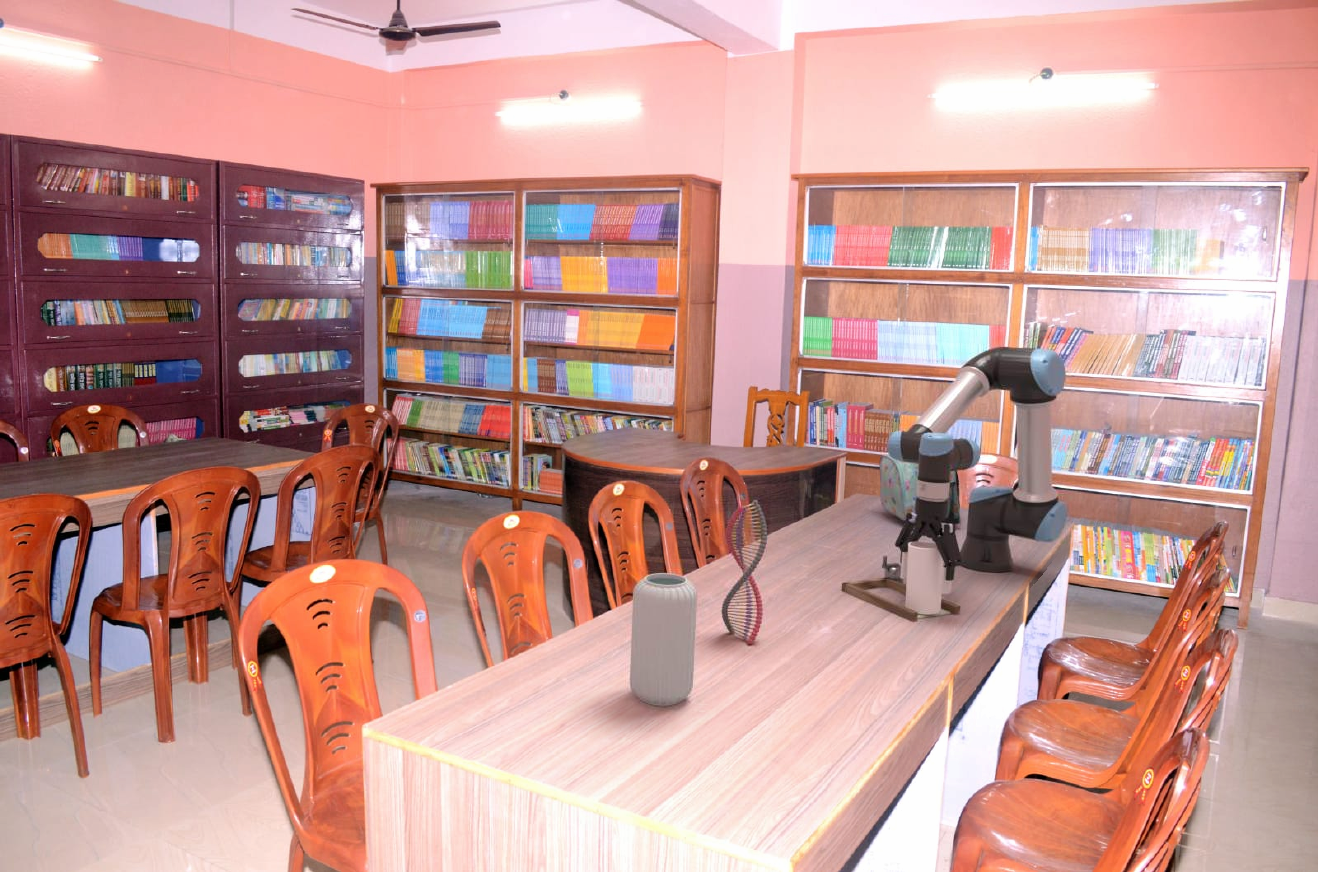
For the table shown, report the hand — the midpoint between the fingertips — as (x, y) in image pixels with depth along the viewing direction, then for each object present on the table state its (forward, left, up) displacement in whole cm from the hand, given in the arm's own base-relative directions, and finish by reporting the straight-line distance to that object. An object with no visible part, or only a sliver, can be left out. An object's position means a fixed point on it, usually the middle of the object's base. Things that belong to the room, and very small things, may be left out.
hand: (924, 585), depth 232 cm
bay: (0, -8, -7) cm, 11 cm away
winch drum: (-9, -20, -7) cm, 23 cm away
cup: (0, 0, -6) cm, 6 cm away
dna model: (+52, 0, -7) cm, 52 cm away
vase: (+83, +20, -7) cm, 86 cm away
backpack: (-71, -78, -7) cm, 106 cm away
